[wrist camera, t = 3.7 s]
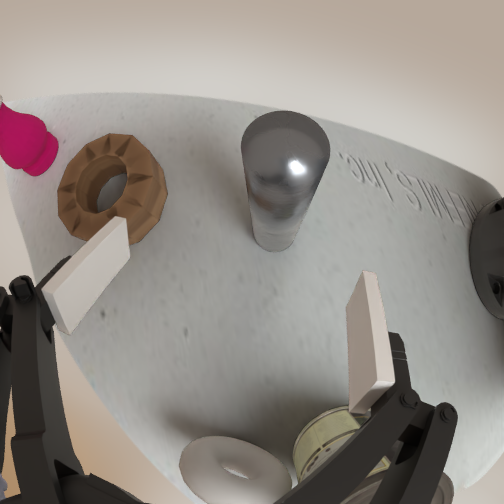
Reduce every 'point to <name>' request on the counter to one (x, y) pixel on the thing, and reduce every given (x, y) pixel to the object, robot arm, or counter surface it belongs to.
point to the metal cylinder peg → (282, 174)
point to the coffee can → (332, 438)
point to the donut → (240, 460)
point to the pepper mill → (25, 141)
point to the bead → (94, 178)
